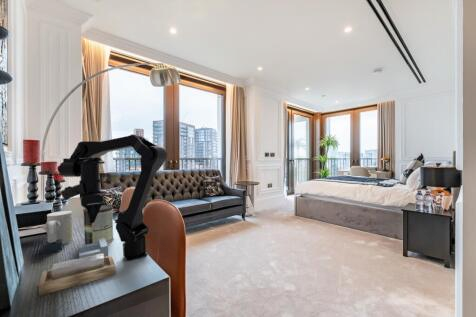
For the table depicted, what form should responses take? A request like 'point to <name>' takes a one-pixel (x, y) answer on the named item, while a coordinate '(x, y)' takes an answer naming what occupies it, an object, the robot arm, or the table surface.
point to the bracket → (94, 249)
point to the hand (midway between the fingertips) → (91, 220)
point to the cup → (63, 225)
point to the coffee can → (99, 225)
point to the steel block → (77, 266)
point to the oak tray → (75, 277)
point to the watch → (52, 237)
